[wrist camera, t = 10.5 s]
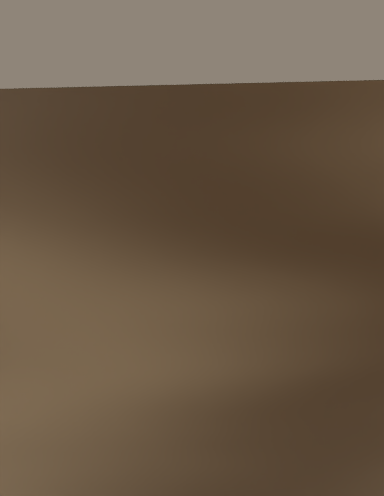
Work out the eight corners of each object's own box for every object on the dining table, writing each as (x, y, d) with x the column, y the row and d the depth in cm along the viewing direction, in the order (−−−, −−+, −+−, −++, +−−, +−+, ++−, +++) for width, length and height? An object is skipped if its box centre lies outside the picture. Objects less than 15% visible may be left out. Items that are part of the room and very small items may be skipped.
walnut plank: (87, 939, 6) (-132, 91, 2) (154, 456, 16) (135, 140, 12) (311, 945, 6) (484, 76, 2) (240, 456, 16) (249, 138, 12)
